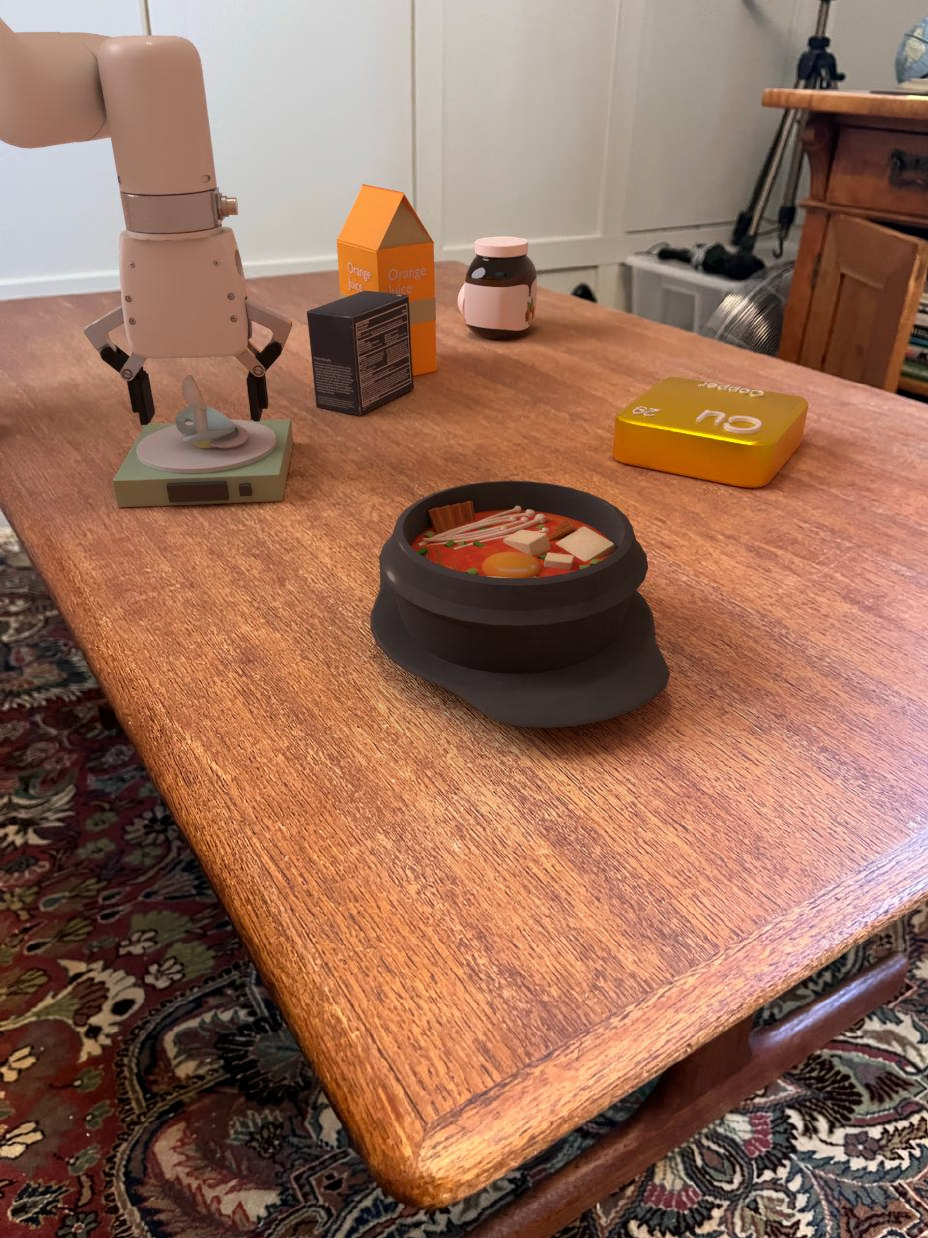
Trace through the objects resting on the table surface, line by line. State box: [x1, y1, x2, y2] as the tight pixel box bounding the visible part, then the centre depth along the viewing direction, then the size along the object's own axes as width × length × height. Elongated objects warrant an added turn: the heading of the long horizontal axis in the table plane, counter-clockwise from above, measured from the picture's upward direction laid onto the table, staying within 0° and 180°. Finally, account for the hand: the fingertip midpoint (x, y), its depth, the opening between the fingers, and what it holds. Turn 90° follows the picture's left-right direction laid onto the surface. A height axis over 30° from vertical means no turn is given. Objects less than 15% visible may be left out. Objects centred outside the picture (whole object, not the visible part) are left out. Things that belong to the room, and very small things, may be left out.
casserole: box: [369, 480, 671, 729], centre depth 63 cm, size 25×19×8 cm
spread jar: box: [457, 235, 538, 341], centre depth 129 cm, size 12×11×12 cm
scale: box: [112, 418, 294, 508], centre depth 89 cm, size 14×14×3 cm
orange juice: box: [335, 183, 438, 377], centre depth 113 cm, size 8×9×20 cm
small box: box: [306, 290, 415, 417], centre depth 106 cm, size 11×6×10 cm, turn 149°
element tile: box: [612, 376, 809, 489], centre depth 93 cm, size 15×15×5 cm
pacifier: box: [174, 374, 248, 448], centre depth 87 cm, size 7×6×6 cm
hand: (202, 418), depth 88 cm, fingers open, 9 cm apart
